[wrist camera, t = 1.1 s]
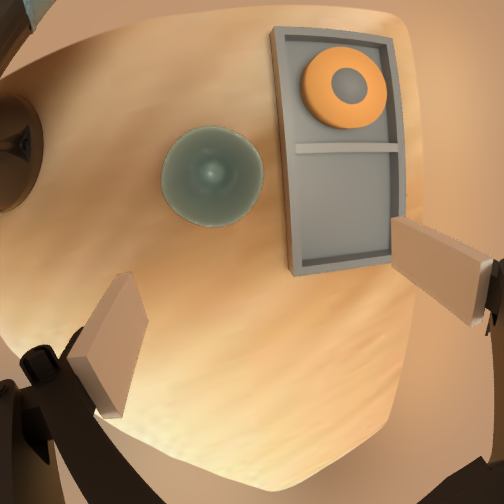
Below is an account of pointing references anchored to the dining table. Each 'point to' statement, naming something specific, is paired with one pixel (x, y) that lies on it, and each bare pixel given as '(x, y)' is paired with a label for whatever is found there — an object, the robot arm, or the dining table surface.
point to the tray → (337, 160)
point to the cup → (212, 176)
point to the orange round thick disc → (343, 88)
